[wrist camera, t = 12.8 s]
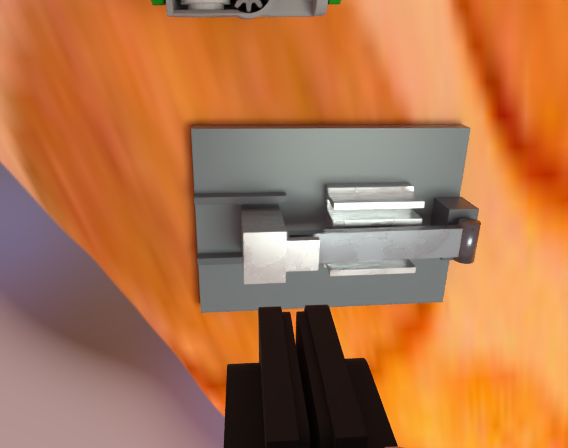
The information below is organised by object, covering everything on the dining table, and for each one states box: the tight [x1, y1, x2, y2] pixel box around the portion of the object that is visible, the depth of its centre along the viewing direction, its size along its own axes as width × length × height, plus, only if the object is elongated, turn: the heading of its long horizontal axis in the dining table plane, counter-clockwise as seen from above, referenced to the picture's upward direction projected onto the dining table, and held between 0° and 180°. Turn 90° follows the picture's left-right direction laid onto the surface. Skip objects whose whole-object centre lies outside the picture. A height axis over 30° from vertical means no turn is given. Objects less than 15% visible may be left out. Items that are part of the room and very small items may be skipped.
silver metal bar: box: [288, 218, 481, 264], centre depth 37 cm, size 15×3×2 cm, turn 89°
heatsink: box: [322, 183, 425, 276], centre depth 39 cm, size 7×7×3 cm
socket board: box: [191, 125, 479, 313], centre depth 40 cm, size 22×16×4 cm
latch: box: [241, 204, 320, 284], centre depth 37 cm, size 5×4×6 cm
